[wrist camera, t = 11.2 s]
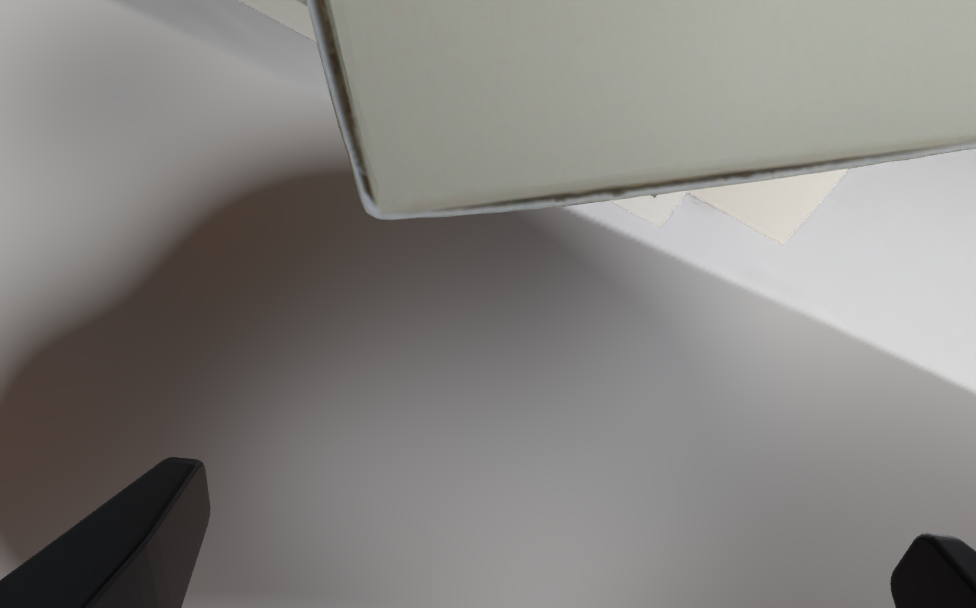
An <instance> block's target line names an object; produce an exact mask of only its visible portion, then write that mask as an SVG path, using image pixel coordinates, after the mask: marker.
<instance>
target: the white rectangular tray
mask: <svg viewBox="0 0 976 608" xmlns="http://www.w3.org/2000/svg"><path fill="white" fill-rule="evenodd" d="M238 1H240V2H242V3H244V4H245V5H247V6H249V7H251V8H253V9H255V10H257V11H258V12H260V13H262V14H264V15H266V16H268V17H269V18H271V19H273V20H275V21H277V22H279V23H281V24H282V25H284V26H286V27H288V28H290V29H292V30H294V31H295V32H297V33H299V34H301V35H303V36H305V37H307V38H308V39H310V40H312V41H314V42H316V38H315V34H314V30H313V26H312V22H311V18H310V14H309V10H308V6H307V2H306V0H238ZM316 43H317V42H316ZM848 170H849V169H842V170H835V171H828V172H821V173H813V174H805V175H798V176H792V177H786V178H779V179H772V180H764V181H757V182H750V183H742V184H735V185H727V186H720V187H712V188H704V189H697V190H689V191H680V192H674V193H668V194H659V195H648V196H639V197H633V198H627V199H619V200H610V201H611V202H613V203H615V204H617V205H618V206H620V207H622V208H624V209H626V210H628V211H630V212H631V213H633V214H635V215H637V216H639V217H641V218H642V219H644V220H646V221H648V222H650V223H652V224H654V225H655V226H657V227H659V228H661V227H662V226H663V224H664V223H665V222H666V220H667V219H668V218H669V216H670V215H671V214H672V212H673V211H674V210H675V208H676V207H677V206H678V204H679V203H680V202H681V200H682V199H683V198H684V196H685V195H686V194H687V192H688V193H689V194H691V195H693V196H695V197H697V198H698V199H700V200H702V201H704V202H706V203H707V204H709V205H711V206H713V207H714V208H716V209H718V210H720V211H722V212H723V213H725V214H727V215H729V216H731V217H732V218H734V219H736V220H738V221H739V222H741V223H743V224H745V225H747V226H748V227H750V228H752V229H754V230H756V231H757V232H759V233H761V234H763V235H764V236H766V237H768V238H770V239H772V240H773V241H775V242H777V243H779V244H781V245H782V246H783V245H784V244H785V243H786V242H787V241H788V240H789V238H790V237H791V236H792V235H793V234H794V233H795V231H796V230H797V229H798V228H799V227H800V226H801V225H802V223H803V222H804V221H805V220H806V219H807V218H808V216H809V215H810V214H811V213H812V212H813V211H814V210H815V208H816V207H817V206H818V205H819V204H820V203H821V201H822V200H823V199H824V198H825V197H826V196H827V195H828V193H829V192H830V191H831V190H832V189H833V188H834V186H835V185H836V184H837V183H838V182H839V181H840V180H841V178H842V177H843V176H844V175H845V174H846V173H847V171H848Z"/></svg>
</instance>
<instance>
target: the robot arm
mask: <svg viewBox="0 0 976 608" xmlns="http://www.w3.org/2000/svg"><path fill="white" fill-rule="evenodd" d="M209 518H210V499H209V492H208V485H207V477H206V470H205V466H204V464H203V462H201V461H200V460H198V459H188V458H178V457H169V458H167V459H164V460H162V461H161V462H160V463H158V464H157V465H155V466H154V467H153V468H152V469H150V470H149V471H147V472H146V473H145V474H143V475H142V476H141V477H139V478H138V479H137V480H135V481H134V482H132V483H131V484H130V485H128V486H127V487H126V488H124V489H123V490H122V491H121V492H119V493H118V494H117V495H115V496H114V497H112V498H111V499H109V500H108V501H107V502H106V503H104V504H103V505H101V506H100V507H99V508H97V509H96V510H95V511H93V512H92V513H91V514H89V515H88V516H86V517H85V518H84V519H82V520H81V521H80V522H78V523H77V524H76V525H74V526H73V527H72V528H70V529H69V530H68V531H66V532H65V533H64V534H62V535H61V536H59V537H58V538H57V539H55V540H54V541H53V542H51V543H50V544H49V545H47V546H46V547H45V548H43V549H42V550H40V551H39V552H38V553H36V554H35V555H34V556H32V557H31V558H30V559H28V560H27V561H26V562H24V563H23V564H22V565H20V566H19V567H18V568H16V569H15V570H14V571H12V572H11V573H10V574H8V575H7V576H5V577H4V578H3V579H1V580H0V608H181V607H182V604H183V601H184V598H185V595H186V592H187V589H188V585H189V582H190V579H191V576H192V573H193V570H194V567H195V564H196V560H197V558H198V554H199V551H200V548H201V545H202V542H203V539H204V536H205V533H206V529H207V526H208V522H209ZM890 584H891V592H892V596H893V599H894V603H895V606H896V608H976V551H975V550H974V549H972V548H971V547H970V546H968V545H967V544H966V543H964V542H963V541H962V540H960V539H958V538H956V537H953V536H948V535H939V534H928V533H925V534H921V535H919V536H917V537H916V538H915V539H914V541H913V542H912V544H911V545H910V547H909V548H908V550H907V551H906V553H905V554H904V556H903V557H902V559H901V560H900V562H899V563H898V565H897V566H896V568H895V569H894V571H893V573H892V576H891V583H890Z"/></svg>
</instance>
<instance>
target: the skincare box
mask: <svg viewBox="0 0 976 608" xmlns="http://www.w3.org/2000/svg"><path fill="white" fill-rule="evenodd" d="M306 2H307V6H308V10H309V14H310V18H311V22H312V26H313V30H314V34H315V38H316V42H317V45H318V49H319V53H320V57H321V61H322V65H323V69H324V72H325V76H326V80H327V84H328V88H329V92H330V96H331V100H332V103H333V107H334V111H335V114H336V118H337V121H338V125H339V128H340V132H341V135H342V138H343V141H344V144H345V147H346V150H347V153H348V157H349V160H350V164H351V167H352V171H353V175H354V178H355V182H356V185H357V188H358V193H359V197H360V200H361V202H362V205H363V207H364V209H365V211H366V212H367V213H368V214H369V215H371V216H373V217H375V218H377V219H383V220H397V219H410V218H426V217H449V216H458V215H470V214H484V213H498V212H507V211H516V210H531V209H539V208H548V207H556V206H563V207H565V206H571V205H578V204H585V203H593V202H602V201H610V200H619V199H627V198H633V197H639V196H648V195H659V194H668V193H674V192H680V191H689V190H697V189H704V188H712V187H720V186H727V185H735V184H742V183H750V182H757V181H764V180H772V179H779V178H786V177H792V176H798V175H805V174H813V173H821V172H828V171H835V170H842V169H850V168H856V167H861V166H867V165H873V164H879V163H884V162H890V161H899V160H908V159H914V158H919V157H925V156H931V155H936V154H942V153H948V152H955V151H961V150H968V149H974V148H976V0H306Z"/></svg>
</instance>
